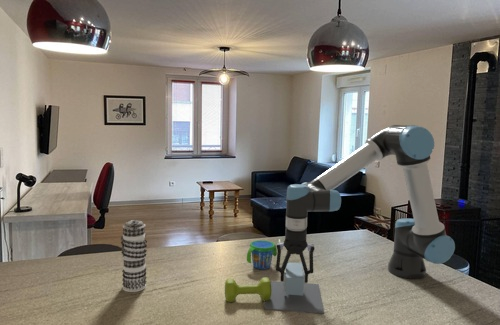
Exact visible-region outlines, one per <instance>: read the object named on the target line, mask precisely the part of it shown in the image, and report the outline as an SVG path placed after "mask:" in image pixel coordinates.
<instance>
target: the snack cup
mask: <svg viewBox="0 0 500 325" xmlns="http://www.w3.org/2000/svg"><path fill="white" fill-rule="evenodd" d="M277 252H278V251H277V244H275V243H274V242H272V241H268V240H263V239H262V240H261V239H260V240H253V241H251V242H250V246H249V249H248V250H247V255H246V261H247V262H248V263H249V264H251V263H252V265H253V268H255V269H257V270H266V269H267V270H268V269H269V268H271V265H272V259H273V256H274V257H277Z"/></svg>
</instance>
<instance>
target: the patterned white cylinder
mask: <svg viewBox="0 0 500 325" xmlns="http://www.w3.org/2000/svg"><path fill="white" fill-rule="evenodd" d="M146 226H147V225H146V223H144V222H143V221H142V220H139V219H131V220H128V221H126V222H125V223H124V225H122V232H123V234H122V235H121V237H120V240H121V241H120V244H121V255H122V260H123V264H122V275H121V276H122V277H123V278H122V280H121V281H122V290H123V291H125V292H128V293H136V292H141V291H142V290H145V289H146V288H147V267H146V257H147V251H148V250H147V249H146V248H147V246H148V245H147V242H148V240H146V239H145V238H146V237H147V234H146V232H145V231H146V230H145V227H146Z"/></svg>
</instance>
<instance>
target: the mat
mask: <svg viewBox="0 0 500 325" xmlns="http://www.w3.org/2000/svg"><path fill="white" fill-rule="evenodd" d="M270 282H271V288H272V293H271V298H270V300H268V301H264V306H263V307H264V308H263V310H267V311H280V312H295V313H308V314H309V313H310V314H321V315H322V314H325V311H324V305H323V299H322V295H321V290H320V289H321V288H320V285H319V283H308V282H307V283H305V285H304V293H303V296H302V295H287V294H285V291H283V282H282V281H277V280H276V281H275V280H274V281H273V280H270Z"/></svg>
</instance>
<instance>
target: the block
mask: <svg viewBox="0 0 500 325" xmlns="http://www.w3.org/2000/svg"><path fill="white" fill-rule="evenodd" d="M285 271H286V285H285V294H287V295H302V296H303V289H304V275H303V272H304V269H303V265H302V262H289V261H288V263H287V266H286V268H285Z"/></svg>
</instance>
